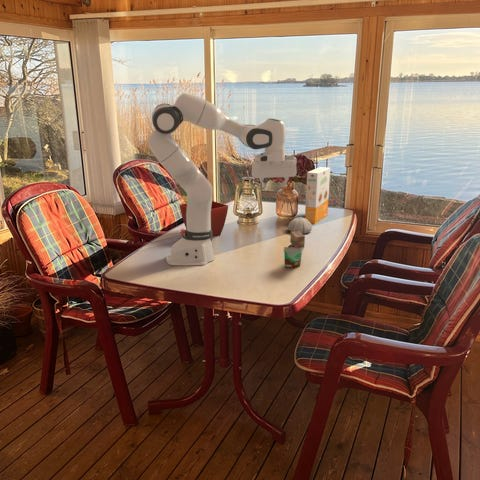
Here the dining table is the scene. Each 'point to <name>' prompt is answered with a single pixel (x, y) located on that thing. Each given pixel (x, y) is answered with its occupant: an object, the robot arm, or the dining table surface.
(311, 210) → the cereal box
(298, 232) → the walnut block
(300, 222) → the sea urchin shell
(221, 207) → the plant pot
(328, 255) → the dining table surface
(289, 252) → the food container
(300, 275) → the dining table surface
